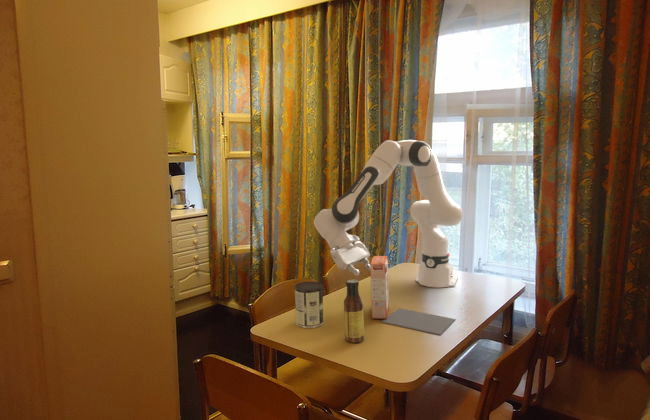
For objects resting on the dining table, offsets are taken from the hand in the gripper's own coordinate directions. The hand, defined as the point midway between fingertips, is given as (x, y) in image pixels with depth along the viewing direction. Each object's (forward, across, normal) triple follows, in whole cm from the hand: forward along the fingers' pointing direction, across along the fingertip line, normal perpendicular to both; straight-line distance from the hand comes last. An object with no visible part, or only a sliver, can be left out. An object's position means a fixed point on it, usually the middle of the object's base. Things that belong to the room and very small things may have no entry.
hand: (364, 271), depth 167 cm
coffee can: (+4, -22, +19) cm, 29 cm away
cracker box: (+16, 0, +6) cm, 17 cm away
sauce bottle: (+18, -26, +4) cm, 32 cm away
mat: (+27, 0, -5) cm, 27 cm away
